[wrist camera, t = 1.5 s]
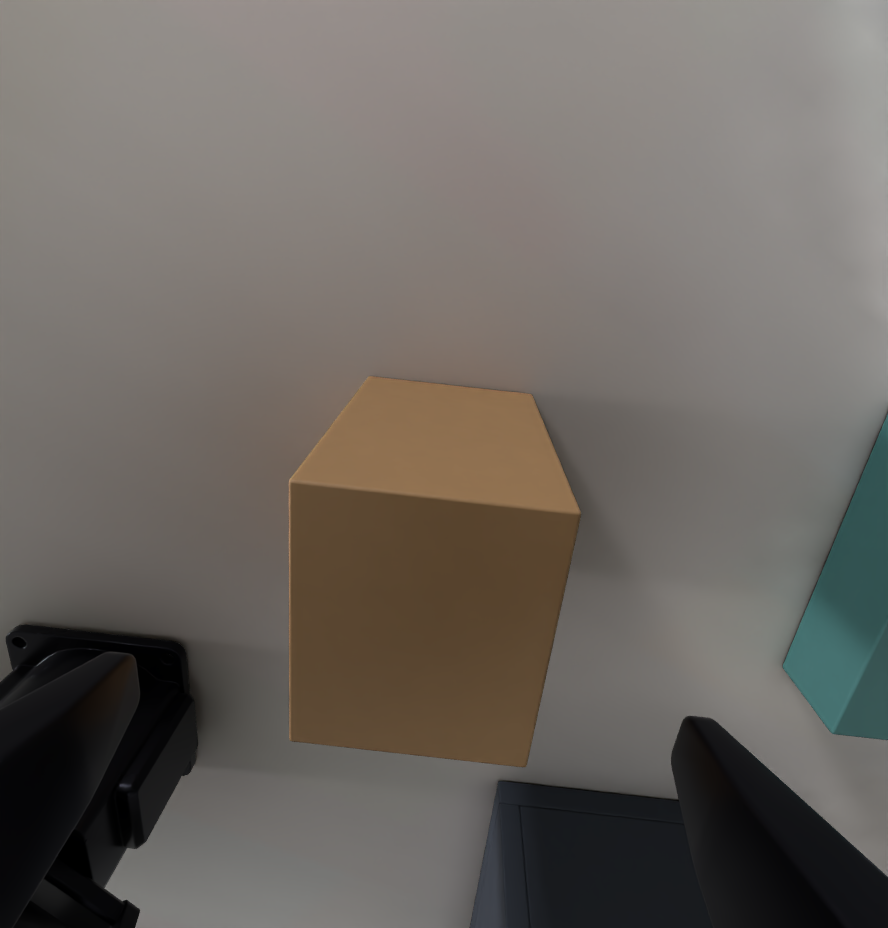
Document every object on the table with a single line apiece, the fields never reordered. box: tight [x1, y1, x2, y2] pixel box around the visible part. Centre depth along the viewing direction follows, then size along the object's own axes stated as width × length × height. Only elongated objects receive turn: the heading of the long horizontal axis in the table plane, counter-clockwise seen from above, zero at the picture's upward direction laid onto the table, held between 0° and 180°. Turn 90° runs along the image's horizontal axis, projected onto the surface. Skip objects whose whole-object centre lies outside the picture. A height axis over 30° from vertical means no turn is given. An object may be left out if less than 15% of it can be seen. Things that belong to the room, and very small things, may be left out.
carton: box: [289, 376, 581, 767], centre depth 14 cm, size 5×6×8 cm
